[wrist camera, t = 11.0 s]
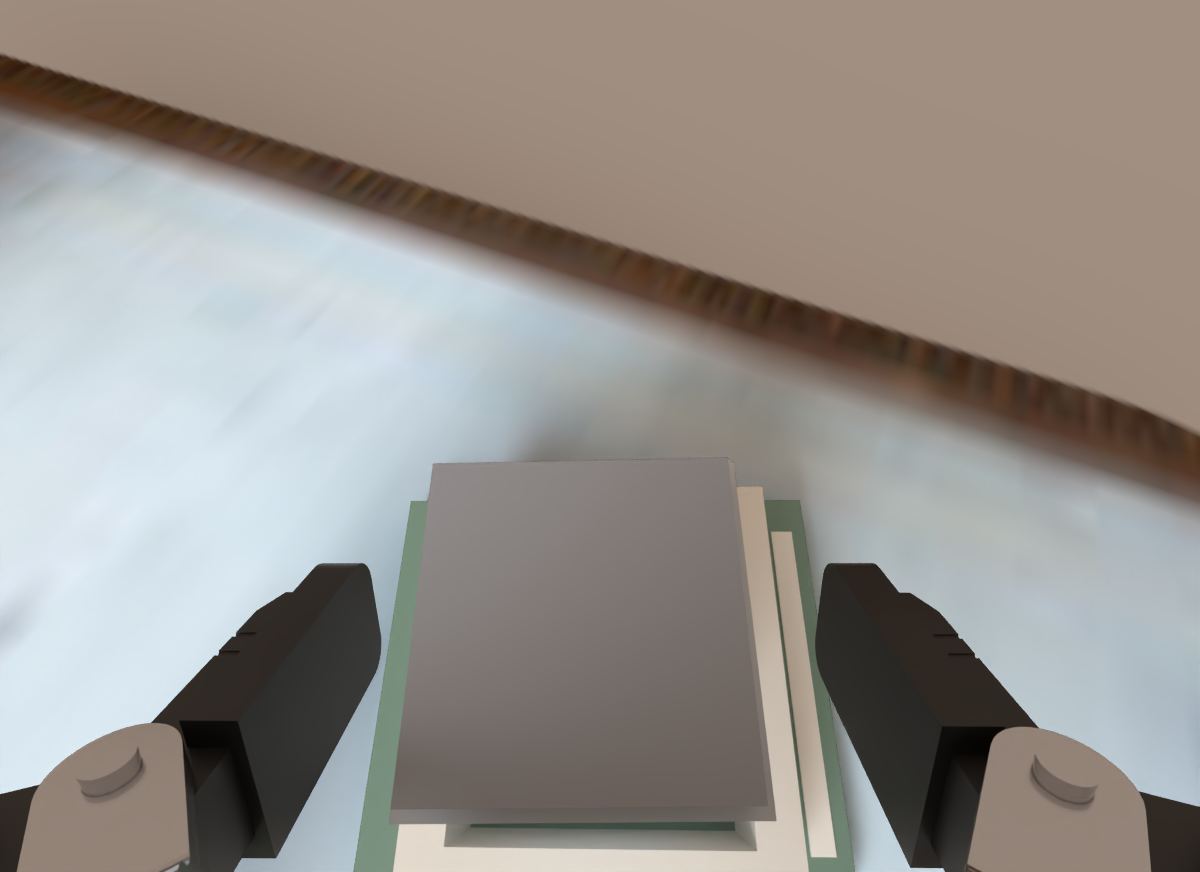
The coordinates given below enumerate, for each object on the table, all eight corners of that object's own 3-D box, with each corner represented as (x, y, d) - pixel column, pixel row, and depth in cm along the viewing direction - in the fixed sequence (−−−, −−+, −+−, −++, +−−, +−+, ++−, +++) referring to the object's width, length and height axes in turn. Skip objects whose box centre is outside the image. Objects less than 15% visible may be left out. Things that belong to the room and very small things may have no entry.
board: (365, 890, 15) (292, 939, 11) (420, 511, 19) (379, 467, 16) (845, 897, 14) (913, 950, 11) (790, 510, 19) (828, 466, 16)
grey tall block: (524, 762, 15) (366, 833, 6) (532, 574, 17) (427, 392, 8) (680, 760, 15) (792, 831, 5) (669, 572, 17) (735, 386, 8)
